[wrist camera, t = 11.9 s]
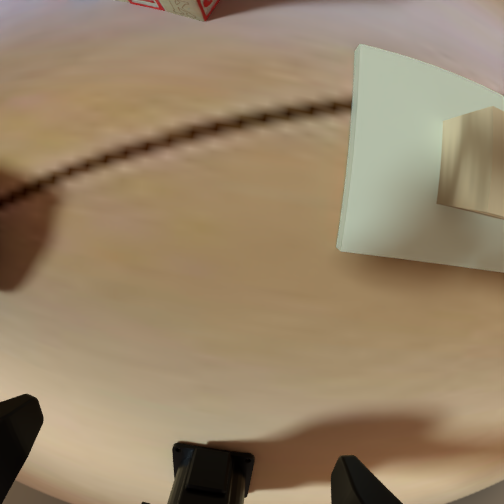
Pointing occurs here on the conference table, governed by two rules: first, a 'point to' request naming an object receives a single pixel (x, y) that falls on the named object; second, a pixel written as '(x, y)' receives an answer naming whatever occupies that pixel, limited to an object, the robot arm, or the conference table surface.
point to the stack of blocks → (181, 7)
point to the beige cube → (473, 163)
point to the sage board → (410, 165)
